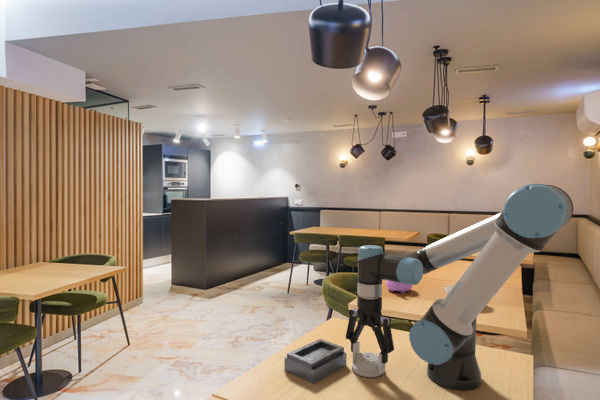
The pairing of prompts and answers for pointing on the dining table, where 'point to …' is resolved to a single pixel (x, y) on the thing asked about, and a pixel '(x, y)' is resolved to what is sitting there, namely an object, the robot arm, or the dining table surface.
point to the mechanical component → (366, 364)
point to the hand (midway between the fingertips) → (368, 367)
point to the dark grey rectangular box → (315, 360)
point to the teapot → (398, 286)
